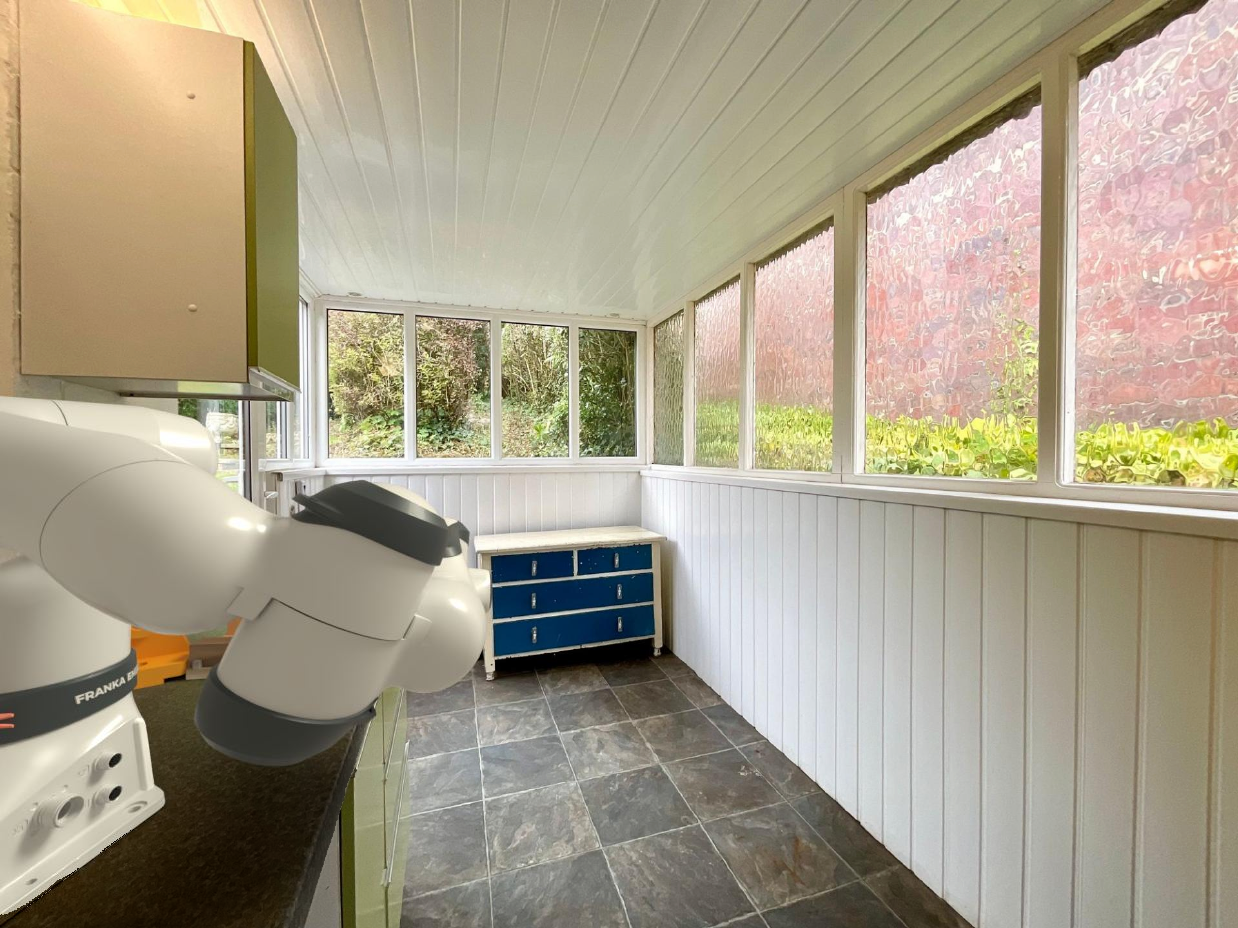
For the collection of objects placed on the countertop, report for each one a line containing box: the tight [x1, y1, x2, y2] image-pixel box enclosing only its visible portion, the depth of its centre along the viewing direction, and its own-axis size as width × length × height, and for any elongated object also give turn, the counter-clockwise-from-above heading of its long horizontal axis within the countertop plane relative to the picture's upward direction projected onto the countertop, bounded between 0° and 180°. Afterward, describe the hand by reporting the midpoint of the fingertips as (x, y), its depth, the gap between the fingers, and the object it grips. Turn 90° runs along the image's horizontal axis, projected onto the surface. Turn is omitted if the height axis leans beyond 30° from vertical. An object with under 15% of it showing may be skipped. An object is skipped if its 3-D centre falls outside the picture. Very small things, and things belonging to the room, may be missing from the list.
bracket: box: [131, 626, 192, 691], centre depth 72 cm, size 11×7×12 cm
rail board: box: [185, 636, 233, 681], centre depth 86 cm, size 27×9×5 cm, turn 9°
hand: (311, 597), depth 82 cm, fingers open, 8 cm apart
